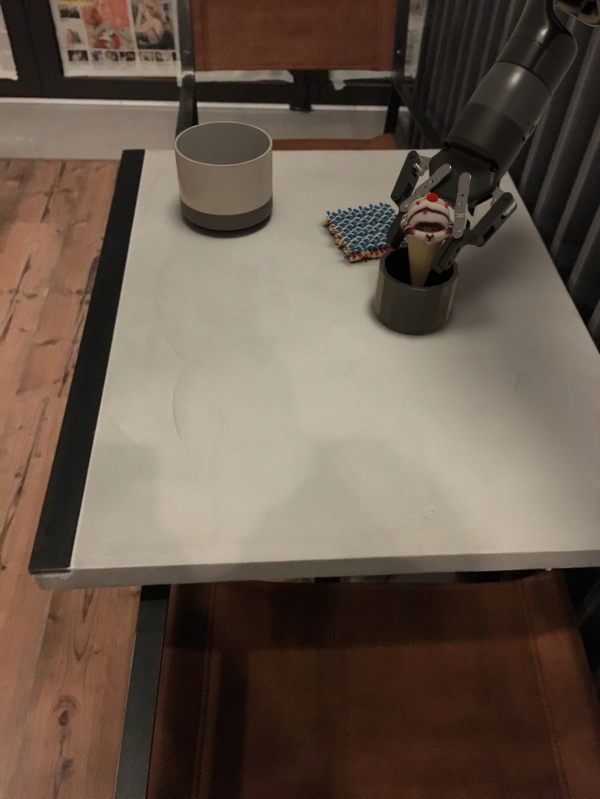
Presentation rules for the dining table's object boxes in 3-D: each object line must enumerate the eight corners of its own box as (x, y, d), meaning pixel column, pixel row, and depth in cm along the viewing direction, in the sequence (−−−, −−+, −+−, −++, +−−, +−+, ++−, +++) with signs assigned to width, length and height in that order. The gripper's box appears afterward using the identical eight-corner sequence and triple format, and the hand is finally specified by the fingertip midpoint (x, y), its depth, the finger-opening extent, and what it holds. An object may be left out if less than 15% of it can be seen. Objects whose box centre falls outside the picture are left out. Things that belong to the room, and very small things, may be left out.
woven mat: (349, 265, 89) (350, 252, 87) (321, 223, 96) (321, 210, 94) (421, 252, 91) (424, 239, 90) (389, 212, 98) (391, 199, 97)
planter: (183, 241, 92) (175, 168, 84) (180, 193, 101) (172, 123, 93) (278, 235, 93) (278, 163, 86) (267, 188, 102) (266, 119, 95)
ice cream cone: (404, 326, 80) (423, 211, 69) (380, 298, 83) (395, 185, 72) (446, 314, 81) (470, 200, 71) (421, 287, 85) (440, 175, 74)
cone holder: (458, 302, 84) (469, 258, 79) (432, 344, 78) (442, 299, 74) (391, 280, 87) (398, 236, 82) (361, 318, 81) (366, 273, 77)
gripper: (432, 81, 73) (349, 220, 76) (550, 125, 67) (455, 276, 69) (453, 116, 80) (376, 243, 83) (562, 159, 73) (474, 296, 76)
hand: (412, 257), depth 76 cm, fingers closed on ice cream cone, 5 cm apart
